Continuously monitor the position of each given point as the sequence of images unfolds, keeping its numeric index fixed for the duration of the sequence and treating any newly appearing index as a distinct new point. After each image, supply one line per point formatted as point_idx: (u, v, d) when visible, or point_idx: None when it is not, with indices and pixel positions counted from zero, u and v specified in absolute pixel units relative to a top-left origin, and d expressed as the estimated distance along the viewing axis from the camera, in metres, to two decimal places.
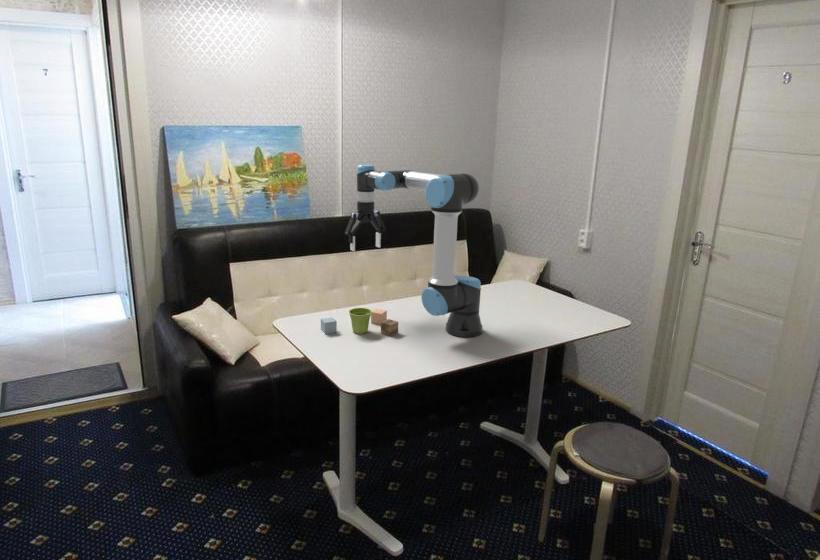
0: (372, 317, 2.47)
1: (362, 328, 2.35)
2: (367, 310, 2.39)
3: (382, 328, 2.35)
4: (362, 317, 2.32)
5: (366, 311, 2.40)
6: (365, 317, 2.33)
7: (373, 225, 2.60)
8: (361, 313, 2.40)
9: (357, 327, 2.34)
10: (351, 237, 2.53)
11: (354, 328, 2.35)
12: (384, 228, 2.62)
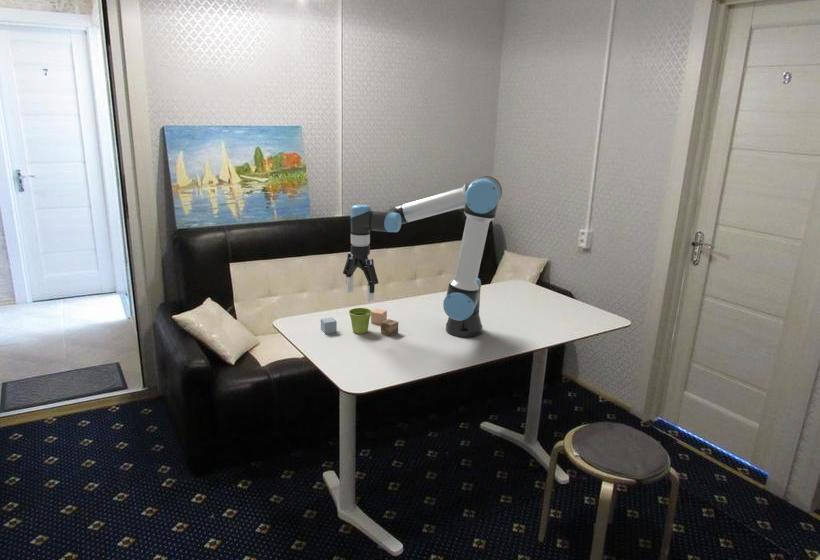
0: (372, 317, 2.47)
1: (362, 328, 2.35)
2: (367, 310, 2.39)
3: (382, 328, 2.35)
4: (362, 317, 2.32)
5: (366, 311, 2.40)
6: (365, 317, 2.33)
7: None
8: (361, 313, 2.40)
9: (357, 327, 2.34)
10: (347, 277, 2.38)
11: (354, 328, 2.35)
12: (372, 281, 2.25)
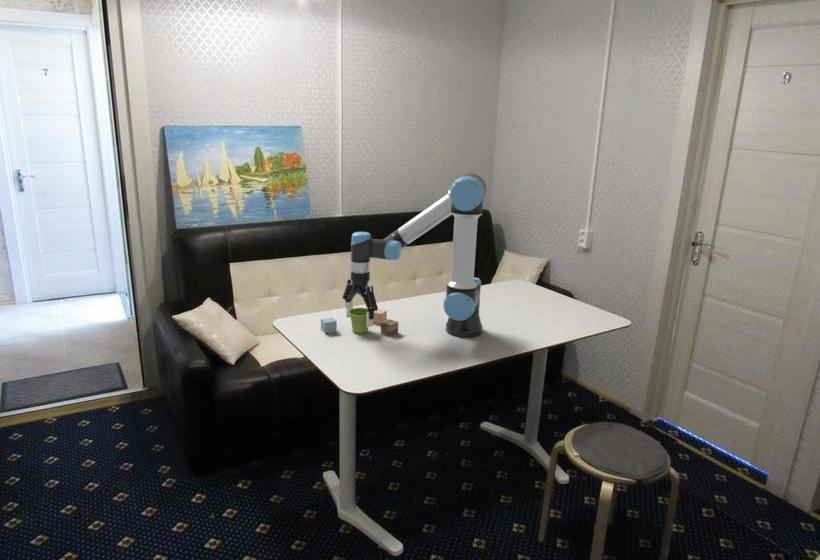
0: None
1: (362, 328, 2.35)
2: (367, 310, 2.39)
3: (382, 328, 2.35)
4: (362, 317, 2.32)
5: (366, 311, 2.40)
6: (365, 317, 2.33)
7: None
8: (361, 313, 2.40)
9: (357, 327, 2.34)
10: None
11: (354, 328, 2.35)
12: (372, 308, 2.28)
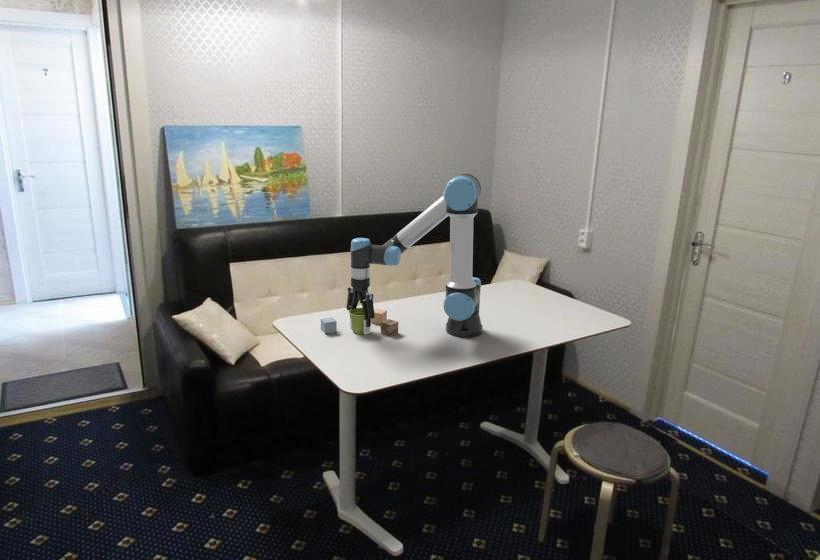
0: None
1: (362, 328, 2.35)
2: None
3: (382, 328, 2.35)
4: (362, 317, 2.32)
5: None
6: None
7: (366, 307, 2.33)
8: (361, 312, 2.40)
9: (357, 326, 2.34)
10: None
11: (354, 328, 2.35)
12: (369, 316, 2.30)
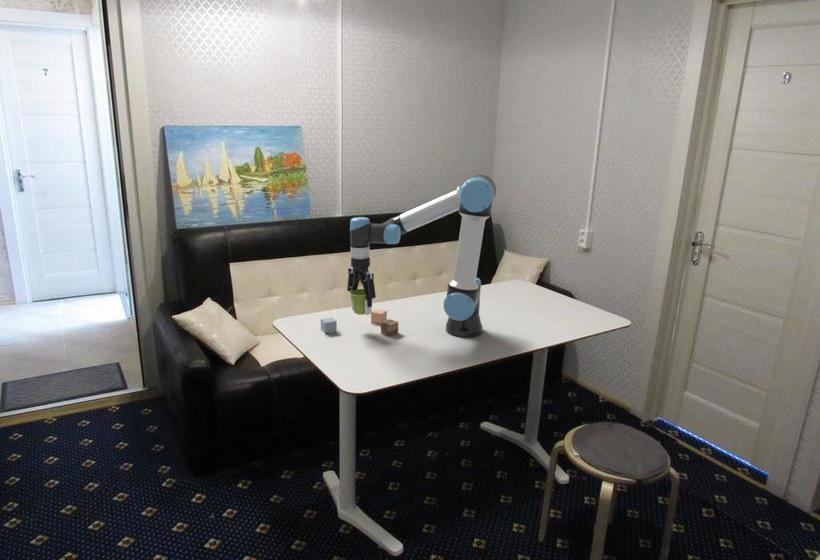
0: (372, 317, 2.47)
1: (363, 309, 2.32)
2: None
3: (382, 328, 2.35)
4: (363, 297, 2.30)
5: None
6: None
7: None
8: (362, 293, 2.38)
9: (358, 307, 2.32)
10: None
11: (355, 309, 2.33)
12: (370, 296, 2.28)
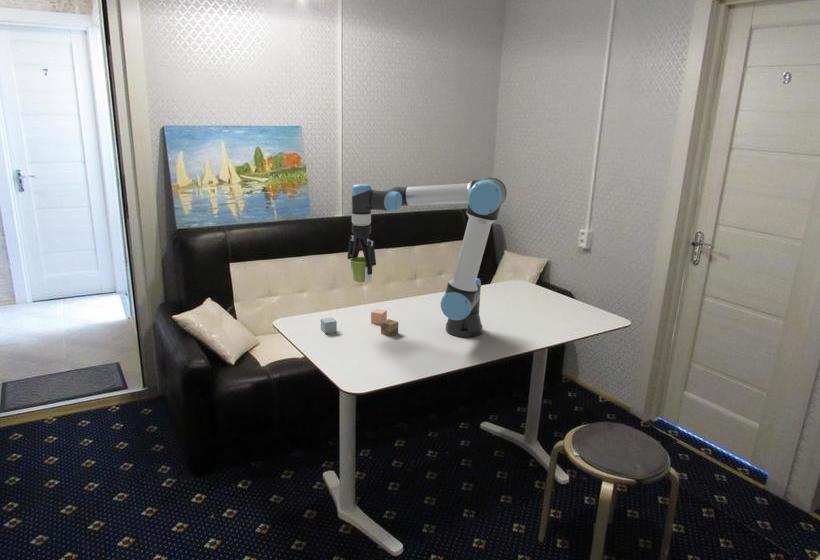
0: (372, 317, 2.47)
1: (363, 276, 2.32)
2: None
3: (382, 328, 2.35)
4: (363, 264, 2.29)
5: None
6: None
7: None
8: (362, 262, 2.37)
9: (358, 275, 2.31)
10: None
11: (355, 276, 2.32)
12: (370, 263, 2.27)
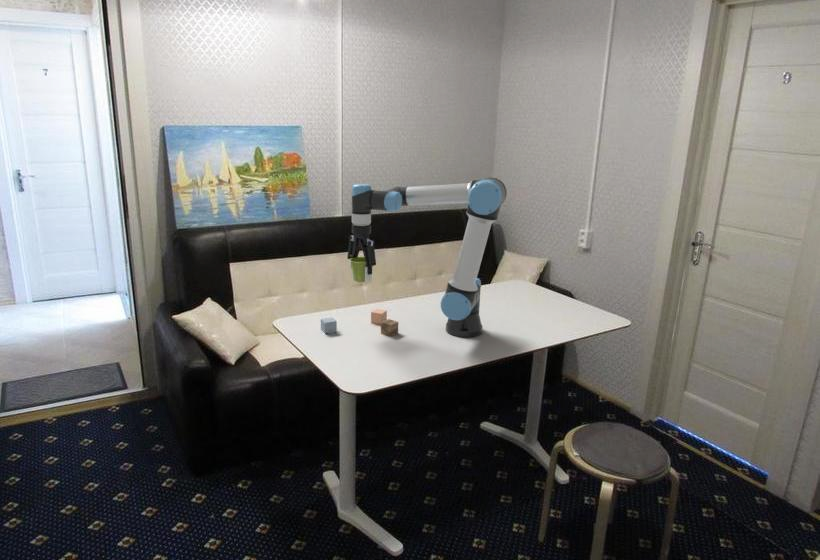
0: (372, 317, 2.47)
1: (363, 276, 2.32)
2: None
3: (382, 328, 2.35)
4: (363, 264, 2.29)
5: None
6: None
7: None
8: (362, 262, 2.37)
9: (358, 275, 2.31)
10: None
11: (355, 276, 2.32)
12: (370, 263, 2.27)
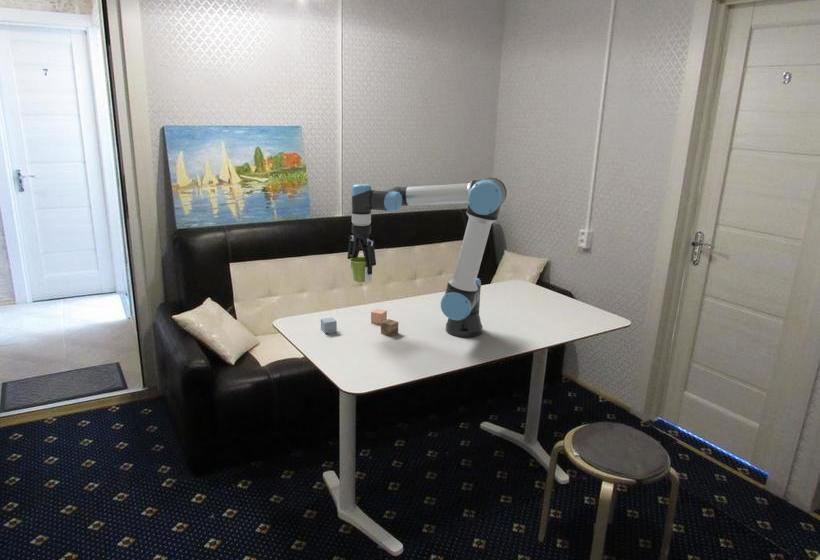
0: (372, 317, 2.47)
1: (363, 276, 2.32)
2: None
3: (382, 328, 2.35)
4: (363, 264, 2.29)
5: None
6: None
7: None
8: (362, 262, 2.37)
9: (358, 275, 2.31)
10: None
11: (355, 276, 2.32)
12: (370, 263, 2.27)
